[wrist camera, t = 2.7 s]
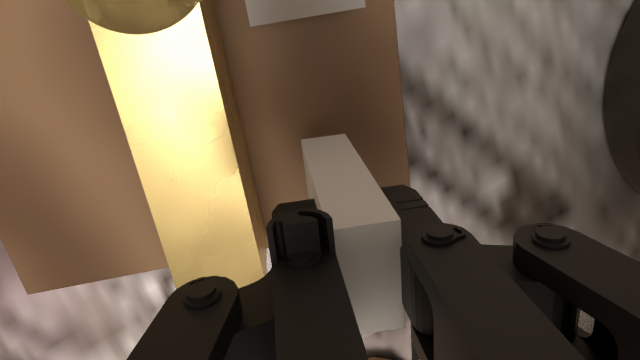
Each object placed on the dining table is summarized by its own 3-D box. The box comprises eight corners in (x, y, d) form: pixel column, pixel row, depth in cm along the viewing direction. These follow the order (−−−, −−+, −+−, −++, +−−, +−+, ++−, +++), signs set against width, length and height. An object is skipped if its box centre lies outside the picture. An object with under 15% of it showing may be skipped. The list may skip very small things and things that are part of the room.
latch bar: (70, -105, 15) (4, -142, 11) (207, -125, 15) (188, -169, 11) (180, 249, 19) (160, 307, 16) (282, 230, 20) (286, 282, 16)
